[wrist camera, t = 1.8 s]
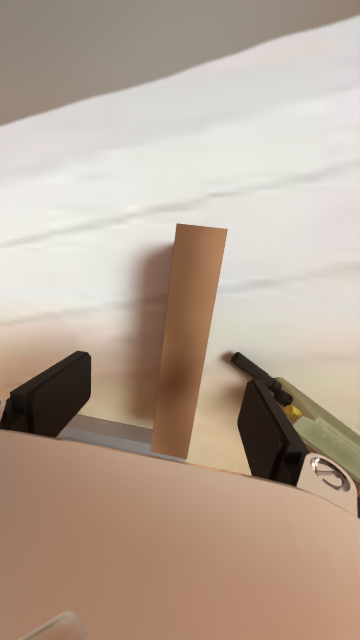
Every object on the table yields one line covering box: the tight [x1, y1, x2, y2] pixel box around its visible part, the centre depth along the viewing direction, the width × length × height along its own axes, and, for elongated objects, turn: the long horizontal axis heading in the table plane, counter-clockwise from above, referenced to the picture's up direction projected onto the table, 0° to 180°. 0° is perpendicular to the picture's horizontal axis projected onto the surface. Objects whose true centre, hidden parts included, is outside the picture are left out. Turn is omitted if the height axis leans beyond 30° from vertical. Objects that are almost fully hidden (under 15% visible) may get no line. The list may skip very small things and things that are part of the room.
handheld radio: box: [231, 352, 360, 484], centre depth 17 cm, size 7×3×25 cm
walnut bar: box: [151, 224, 228, 459], centre depth 17 cm, size 4×20×6 cm, turn 172°
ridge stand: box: [58, 414, 185, 462], centre depth 20 cm, size 16×10×8 cm, turn 82°
